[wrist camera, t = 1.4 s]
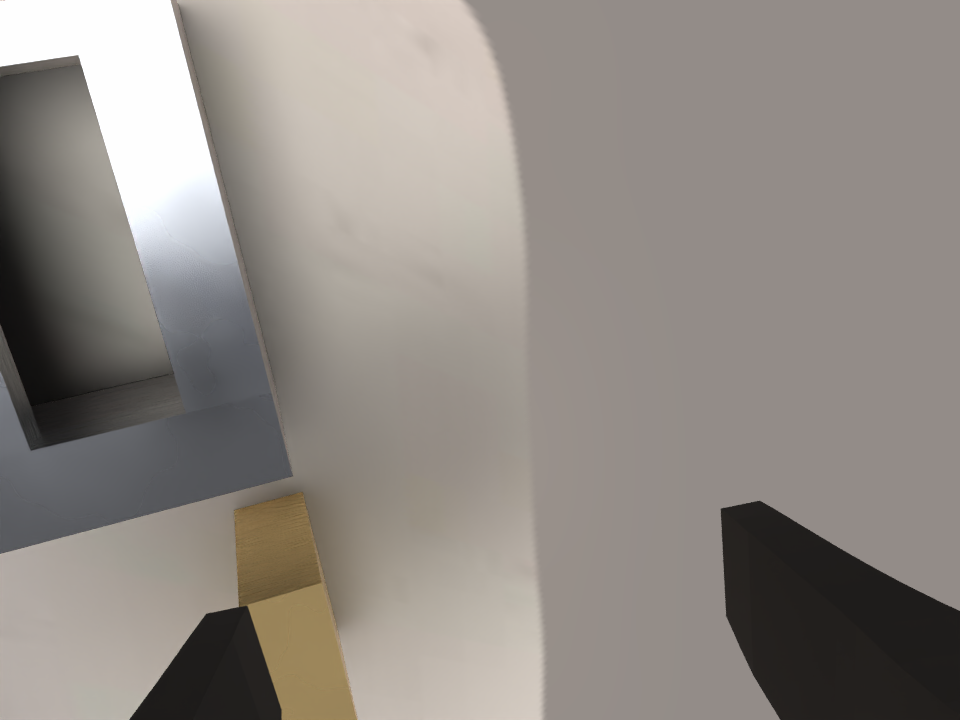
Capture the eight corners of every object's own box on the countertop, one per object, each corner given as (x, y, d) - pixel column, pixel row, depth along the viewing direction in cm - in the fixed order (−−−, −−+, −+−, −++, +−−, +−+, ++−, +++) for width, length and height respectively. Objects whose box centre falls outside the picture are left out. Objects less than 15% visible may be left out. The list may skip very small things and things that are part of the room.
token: (337, 628, 27) (362, 739, 23) (274, 647, 27) (286, 765, 22) (302, 491, 25) (321, 582, 21) (234, 509, 25) (239, 607, 20)
